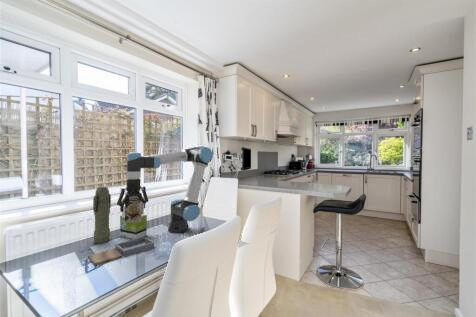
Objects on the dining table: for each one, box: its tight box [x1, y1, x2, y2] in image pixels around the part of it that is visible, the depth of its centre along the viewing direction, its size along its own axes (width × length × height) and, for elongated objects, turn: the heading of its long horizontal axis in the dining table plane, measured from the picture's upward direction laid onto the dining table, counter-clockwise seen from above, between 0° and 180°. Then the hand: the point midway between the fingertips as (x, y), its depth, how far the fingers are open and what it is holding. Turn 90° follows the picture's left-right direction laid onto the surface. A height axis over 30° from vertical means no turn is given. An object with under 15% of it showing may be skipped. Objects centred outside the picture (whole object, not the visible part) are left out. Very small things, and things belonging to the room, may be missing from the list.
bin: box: [114, 236, 155, 257], centre depth 134 cm, size 18×14×3 cm
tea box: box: [119, 213, 148, 240], centre depth 155 cm, size 15×10×15 cm, turn 68°
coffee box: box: [124, 193, 143, 223], centre depth 133 cm, size 9×6×16 cm
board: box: [87, 248, 123, 267], centre depth 122 cm, size 13×13×1 cm
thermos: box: [92, 186, 112, 244], centre depth 145 cm, size 9×12×35 cm
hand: (133, 215), depth 133 cm, fingers closed on coffee box, 10 cm apart
